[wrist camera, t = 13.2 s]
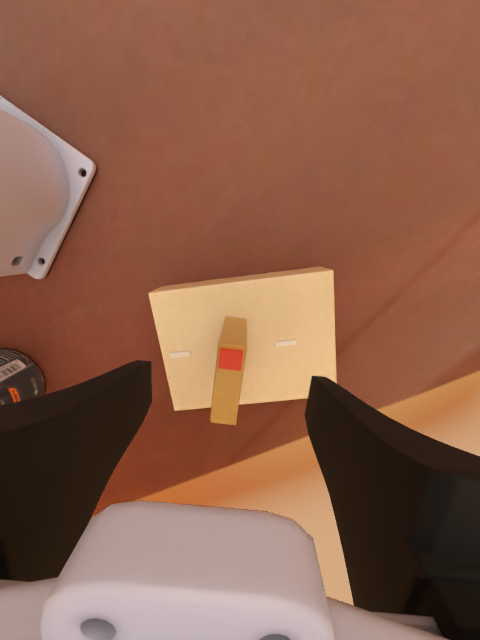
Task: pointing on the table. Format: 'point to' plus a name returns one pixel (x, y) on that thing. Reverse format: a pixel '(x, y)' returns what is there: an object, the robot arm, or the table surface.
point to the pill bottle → (18, 377)
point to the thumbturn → (229, 371)
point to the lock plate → (248, 333)
